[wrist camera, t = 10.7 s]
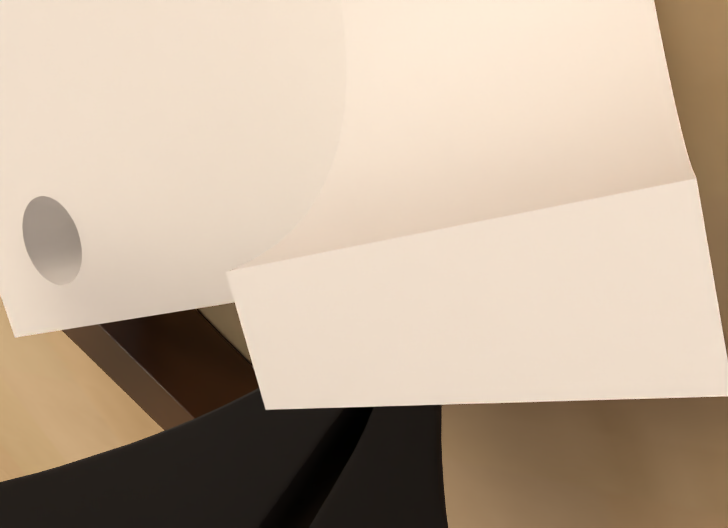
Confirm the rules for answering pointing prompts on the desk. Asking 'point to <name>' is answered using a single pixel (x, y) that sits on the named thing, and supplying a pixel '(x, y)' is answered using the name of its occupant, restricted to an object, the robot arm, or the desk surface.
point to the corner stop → (169, 364)
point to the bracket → (365, 192)
